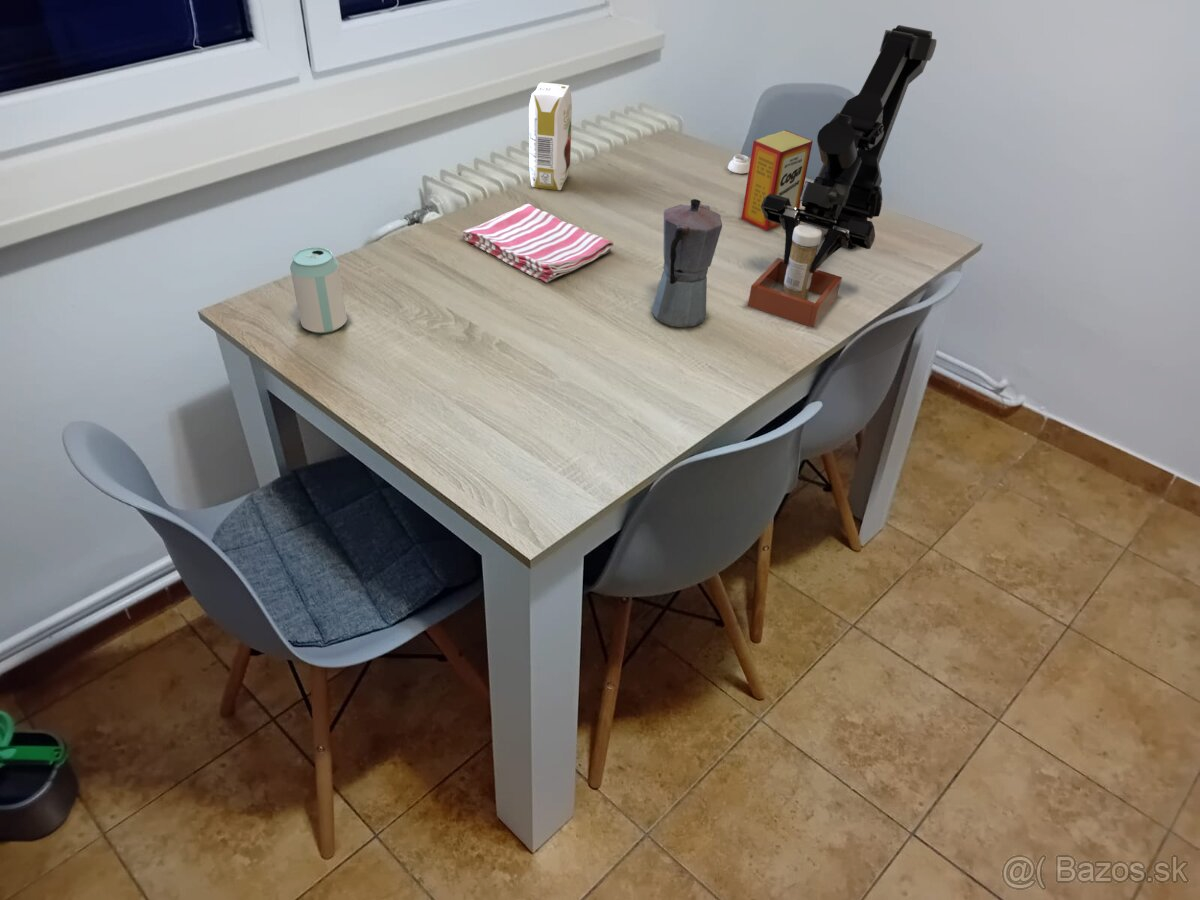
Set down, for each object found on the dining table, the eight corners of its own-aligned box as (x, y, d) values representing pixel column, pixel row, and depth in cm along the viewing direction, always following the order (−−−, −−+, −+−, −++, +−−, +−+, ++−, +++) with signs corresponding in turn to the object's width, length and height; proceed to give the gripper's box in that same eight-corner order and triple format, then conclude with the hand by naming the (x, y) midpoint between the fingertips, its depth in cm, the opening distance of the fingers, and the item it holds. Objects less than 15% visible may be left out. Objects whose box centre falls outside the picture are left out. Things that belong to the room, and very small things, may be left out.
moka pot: (718, 300, 155) (734, 189, 142) (695, 346, 144) (711, 230, 131) (664, 288, 157) (676, 178, 144) (637, 333, 146) (648, 218, 133)
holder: (774, 277, 162) (778, 257, 159) (837, 297, 158) (842, 277, 155) (747, 306, 154) (751, 285, 152) (813, 327, 150) (818, 306, 147)
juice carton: (527, 188, 185) (526, 94, 173) (536, 171, 192) (536, 79, 180) (563, 193, 185) (565, 98, 172) (571, 176, 191) (574, 83, 179)
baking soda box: (772, 206, 185) (786, 128, 174) (797, 217, 181) (813, 138, 171) (741, 218, 180) (753, 139, 169) (766, 231, 176) (781, 150, 166)
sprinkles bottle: (811, 304, 156) (828, 232, 147) (792, 311, 153) (807, 238, 145) (793, 292, 158) (808, 221, 150) (774, 298, 156) (788, 227, 148)
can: (298, 316, 145) (284, 248, 137) (342, 308, 147) (331, 241, 140) (305, 339, 140) (292, 270, 133) (351, 331, 143) (340, 262, 135)
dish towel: (550, 286, 156) (550, 268, 154) (459, 239, 167) (458, 222, 165) (615, 253, 166) (616, 236, 164) (526, 211, 177) (525, 194, 175)
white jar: (749, 176, 195) (751, 167, 199) (751, 163, 193) (753, 154, 197) (726, 173, 196) (728, 164, 200) (728, 160, 194) (730, 151, 198)
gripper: (774, 145, 147) (737, 234, 146) (887, 174, 140) (848, 267, 140) (784, 176, 157) (749, 258, 157) (889, 204, 150) (853, 290, 150)
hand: (797, 268), depth 150 cm, fingers closed on sprinkles bottle, 4 cm apart
